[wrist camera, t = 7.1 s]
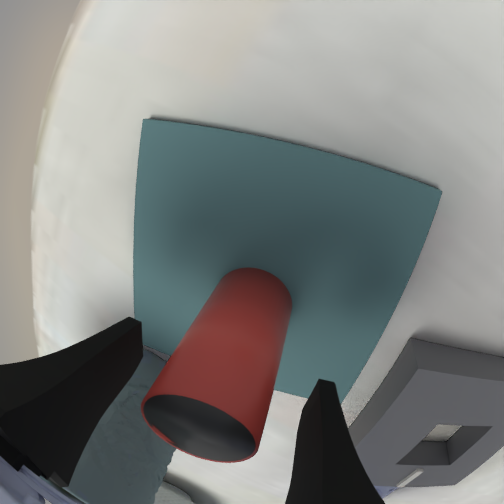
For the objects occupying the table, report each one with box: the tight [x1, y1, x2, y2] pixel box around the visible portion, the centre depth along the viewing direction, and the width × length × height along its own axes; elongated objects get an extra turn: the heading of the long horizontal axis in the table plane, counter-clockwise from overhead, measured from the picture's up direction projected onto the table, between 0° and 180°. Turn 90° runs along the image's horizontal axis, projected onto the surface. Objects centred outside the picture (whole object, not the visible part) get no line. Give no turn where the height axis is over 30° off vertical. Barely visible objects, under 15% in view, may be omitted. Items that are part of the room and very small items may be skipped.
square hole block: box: [348, 338, 504, 487], centre depth 16 cm, size 14×14×3 cm
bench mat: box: [133, 119, 442, 404], centre depth 15 cm, size 14×14×1 cm
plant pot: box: [40, 349, 176, 504], centre depth 17 cm, size 10×10×12 cm
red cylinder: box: [141, 268, 292, 463], centre depth 12 cm, size 4×4×8 cm
